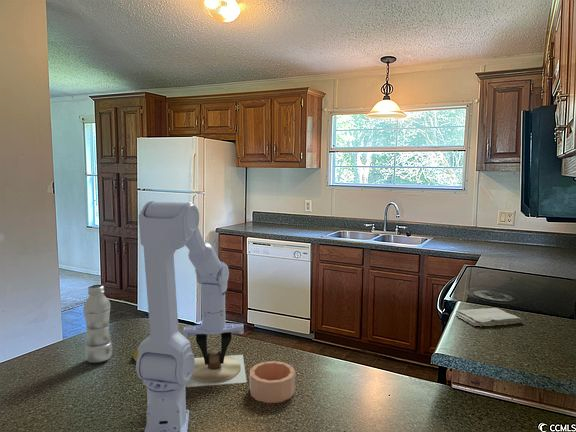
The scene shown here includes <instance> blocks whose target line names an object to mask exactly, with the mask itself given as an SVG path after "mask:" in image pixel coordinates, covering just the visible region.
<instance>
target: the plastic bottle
mask: <svg viewBox="0 0 576 432" xmlns="http://www.w3.org/2000/svg"><path fill="white" fill-rule="evenodd" d="M87 287H88V288H87V290H88V292H87V295H88V298H87V299H86V300H85V303H84V304H83V315H84V319H85V327H86V343H85V349H84V356H85V359H86V360H87V362H88V363H91V364H98V363H103V362H105V361H107V360H109V359H110V358H111V356H112V354H113V344H112V341H111V336H110V334H111V333H110V315H111V314H110V312H111V307H112V306H111V302H110V300H109V298H107V296H106V295H105V286H104V284H99V283H97V284H93V285H92V284H91V285H89V286H87Z"/></svg>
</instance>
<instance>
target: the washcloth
mask: <svg viewBox="0 0 576 432" xmlns="http://www.w3.org/2000/svg"><path fill="white" fill-rule="evenodd" d="M455 313H456V315H459V316H461V317H463V318H465V319H467V320H469V321H471V322H473V323H486V322H505V321H506V322H507V321H520V320H521V321H522V322H523V318H521V317H519V316H517V315H514V314H511V313H508V312H506V311H504V310H502V309H500V308H498V307H492V308H491V307H490V308H489V307H488V308H484V307H483V308H473V309H459V310H456V311H455Z"/></svg>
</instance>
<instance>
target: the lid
mask: <svg viewBox="0 0 576 432" xmlns="http://www.w3.org/2000/svg"><path fill="white" fill-rule="evenodd" d="M207 352H208V365H205V361H204V357H203V356H202V357H203V358H202V357H199V358H200V359H197V360H195V365H194V371H193V374H192V376H191V378H192V379H193V380H195V381H199V382H204V383H216V382H222V381H226V380H229V379H231V378H233V377H235V376H236V375H237V374H238V373H239V372H240V370H241V364H240V362H239V361H238V360H237V359H235V358H233V357H229V356H230V355H225V357H224V363H223V364H221V350H210V351H207Z"/></svg>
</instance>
